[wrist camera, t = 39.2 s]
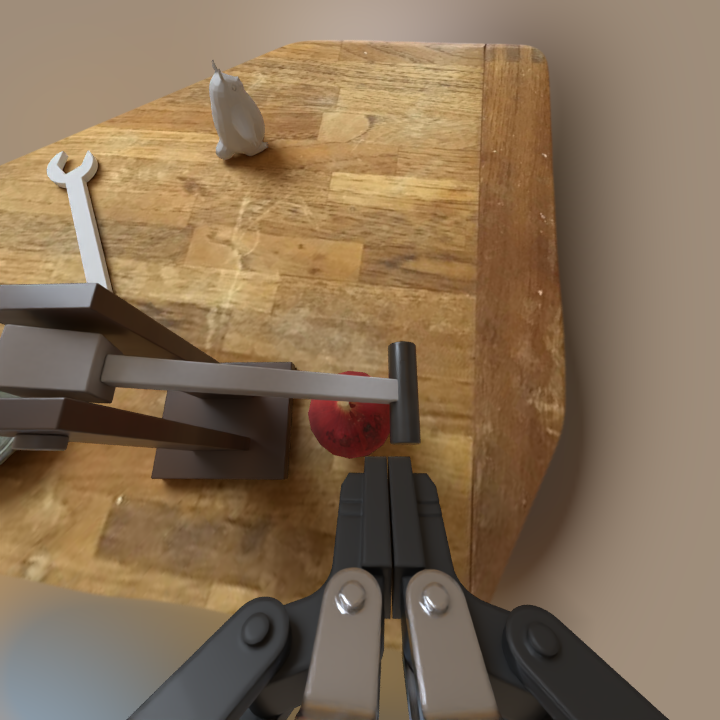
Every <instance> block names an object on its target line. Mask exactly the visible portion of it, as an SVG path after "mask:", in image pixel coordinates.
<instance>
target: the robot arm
mask: <svg viewBox="0 0 720 720" xmlns="http://www.w3.org/2000/svg"><path fill="white" fill-rule="evenodd" d="M391 592H392V613H393V619H401V628H402V661H403V669H404V678H405V686H406V694H407V702H408V711H409V719H410V720H669V719H668V718H667V717H665V716H664V715H663V714H662V713H661V712H660V711H659V710H657V708H656V707H654V706H653V705H652V704H651V703H650V702H649V701H648V700H647V699H646V698H645V697H643V696H642V695H641V694H640V693H639V692H638V691H637V690H636V689H635V688H634V687H632V686H631V685H630V684H629V683H628V682H627V681H626V680H625V679H624V678H622V677H621V676H620V675H619V674H618V673H617V672H616V671H615V670H614V669H613V668H611V667H610V666H609V665H608V664H607V663H606V662H605V661H604V660H603V659H602V658H600V657H599V656H598V655H597V654H596V653H595V652H594V651H593V650H592V649H591V648H589V647H588V646H587V645H586V644H585V643H584V642H583V641H582V640H580V639H579V638H578V637H577V636H576V635H575V634H574V633H573V632H572V631H571V630H569V629H568V628H567V627H566V626H565V625H564V624H563V623H562V622H561V621H560V620H558V619H557V618H556V617H555V616H554V615H552V614H551V613H549V612H548V611H546V610H544V609H542V608H540V607H537V606H533V605H522V606H518V607H516V608H515V609H513V610H512V611H511V612H510V611H507V610H505V609H502V608H500V607H497V606H494V605H491V604H489V603H487V602H484V601H482V600H480V599H478V598H477V597H475V596H473V595H472V594H471V593H470V592H468V591H467V590H466V589H465V588H464V586H463V585H462V584H461V583H460V581H459V579H458V578H457V576H456V574H455V571H454V568H453V564H452V560H451V555H450V550H449V546H448V541H447V536H446V531H445V527H444V522H443V517H442V513H441V508H440V504H439V498H438V494H437V489H436V486H435V484H434V483H433V482H432V480H431V479H430V477H429V476H428V475H427V473H412V467H411V460H410V457H388V479H387V459H386V457H369V456H365V467H364V473H349V474H348V475H347V477H346V478H345V480H344V482H343V483H342V485H341V492H340V503H339V510H338V519H337V529H336V538H335V547H334V556H333V564H332V569H331V572H330V575H329V577H328V579H327V580H326V582H325V583H324V584H323V586H322V587H321V588H320V589H319V590H317V591H316V592H315V593H313V594H312V595H310V596H308V597H305V598H303V599H300V600H297V601H294V602H291V603H289V604H286V605H283V604H282V603H281V602H280V601H278V600H277V599H275V598H272V597H259V598H255V599H253V600H251V601H249V602H247V603H246V604H244V605H243V606H242V607H241V608H240V609H239V610H238V611H237V612H236V613H235V614H234V615H233V616H232V617H231V618H230V619H228V621H226V622H225V623H224V625H222V627H220V629H218V630H217V631H216V632H215V633H214V634H213V635H212V636H211V637H210V638H209V639H208V640H207V641H206V642H205V643H204V644H203V645H202V646H201V647H200V648H199V649H198V650H197V651H196V652H195V653H194V654H193V655H192V656H191V657H190V658H189V659H188V660H187V661H186V662H185V663H184V664H183V665H182V666H181V667H180V668H179V669H178V670H177V671H176V672H175V673H173V674H172V676H170V677H169V678H168V679H167V680H166V681H165V682H164V683H163V684H162V685H161V686H160V687H159V688H158V689H157V690H156V691H155V692H154V693H153V694H152V695H151V696H150V697H149V698H148V699H147V700H146V701H145V702H144V703H143V704H142V705H141V706H140V707H139V708H138V709H137V710H136V711H135V712H134V713H133V714H132V715H131V716H130V717H129V718H128V719H127V720H286V719H287V718H288V716H289V715H290V714H291V712H292V711H293V709H294V708H296V707H298V706H300V705H301V708H300V710H299V712H298V713H297V715H296V717H295V720H379V699H380V676H381V659H382V656H383V652H384V618H385V619H390V610H391Z"/></svg>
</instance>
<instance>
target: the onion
mask: <svg viewBox="0 0 720 720" xmlns="http://www.w3.org/2000/svg"><path fill="white" fill-rule="evenodd" d="M339 374H342V375H353V376H365V377H371V376H369V375H368V374H366V373H363V372H354V371H347V372H343V373H339ZM308 416H309V421H310V426H311V430H312V432H313V434H314V435H315V437H316V438H317V440H318V441H319V443H320V445H322V446H323V447H324V448H325V449H327V450H328V451H329V452H331V453H332V454H333V455H337V456H341V457H345V458H349V459H350V458H356V457H362V456H368V455H370V454H371V453H372V452H374V451H375V450H377V449H378V448H379V447H381V446H382V445H383V444H384V443H385V441H386V439H387V437H388V435H389V434H390V411H389V404H378V403H362V402H346V401H330V400H314V399H311V404H310V408H309V412H308Z"/></svg>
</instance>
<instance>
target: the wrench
mask: <svg viewBox="0 0 720 720" xmlns="http://www.w3.org/2000/svg"><path fill="white" fill-rule="evenodd" d="M67 158H68V155H67V154H66V153H65V152H64V151H62V152H60V153H58V154H57V155H56V156H55V157H54V158H52V160H51V161H50V163H49V164H48V167H47V175H48V177H49V178H50V179H51V180H52V181H53V182H54V183H55V184H56V185H58V186H60V187H62V188H67V192H68V197H69V201H70V206H71V211H72V216H73V220H74V225H75V230H76V234H77V239H78V244H79V248H80V253H81V258H82V262H83V267H84V272H85V276H86V281H87V283H99V284H100V285H102V286H103V287H105V288H106V289H108V290H109V291H111V292H112V293H113V291H112V287H111V283H110V278H109V274H108V270H107V266H106V262H105V258H104V254H103V249H102V245H101V241H100V237H99V233H98V229H97V224H96V220H95V216H94V212H93V208H92V204H91V199H90V195H89V191H88V187H87V183H86V182H88V181H89V180H90V179H91V178H92V177H93V176H94V175H95V173H96V171H97V168H98V162H97V160H96V158H95V157H94V156H93V155H92V154H91V153H90V152H89V151H87V153H86V156H85V158H84V161H83V163H82V165H81V166H79V167H77V168H76V169H74V170H72V171H71V172H69V173H67V174H65V173H64V171H63V168H64V165H65V163H66V161H67Z"/></svg>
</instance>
